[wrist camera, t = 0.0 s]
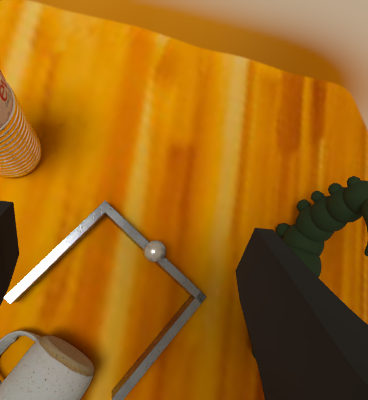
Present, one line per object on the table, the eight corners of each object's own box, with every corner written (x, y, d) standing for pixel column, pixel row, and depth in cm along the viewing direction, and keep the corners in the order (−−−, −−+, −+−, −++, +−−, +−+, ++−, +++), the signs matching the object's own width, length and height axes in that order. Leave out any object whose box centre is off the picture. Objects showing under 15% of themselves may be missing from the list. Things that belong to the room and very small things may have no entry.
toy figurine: (259, 205, 49) (222, 391, 40) (349, 151, 31) (319, 462, 22) (315, 225, 50) (291, 409, 41) (432, 183, 32) (433, 489, 24)
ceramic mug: (101, 359, 38) (98, 380, 31) (56, 429, 36) (41, 469, 29) (24, 310, 38) (3, 318, 31) (-27, 377, 36) (-64, 404, 28)
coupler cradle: (117, 396, 38) (119, 413, 34) (10, 295, 38) (-3, 299, 33) (204, 291, 43) (215, 293, 38) (109, 200, 42) (109, 192, 38)
